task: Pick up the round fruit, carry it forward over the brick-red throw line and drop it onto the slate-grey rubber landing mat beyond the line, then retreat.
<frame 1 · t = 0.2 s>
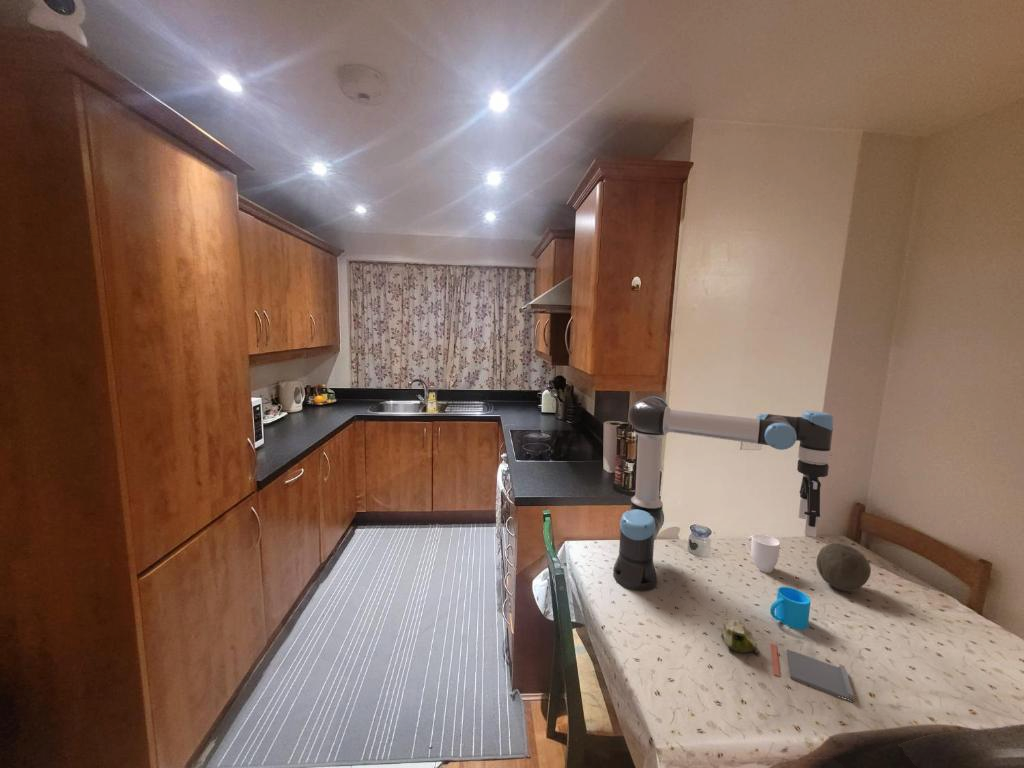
hand: (806, 526, 119), 28 cm above the table, fingers open, 13 cm apart
mug: (786, 621, 116), on the table
dark grey round stone: (840, 587, 133), on the table
landing mat: (817, 675, 96), on the table
fruit: (736, 646, 106), on the table
mug 2: (759, 567, 145), on the table
throw line: (775, 659, 101), on the table
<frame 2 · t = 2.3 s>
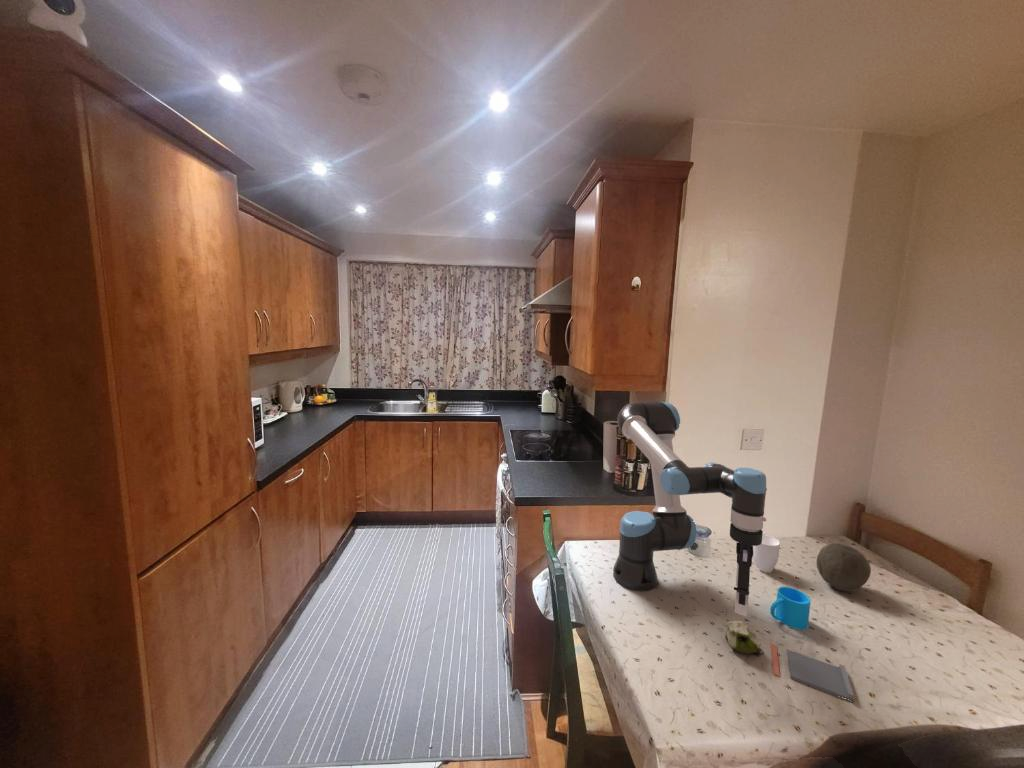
hand: (740, 599, 104), 14 cm above the table, fingers open, 13 cm apart
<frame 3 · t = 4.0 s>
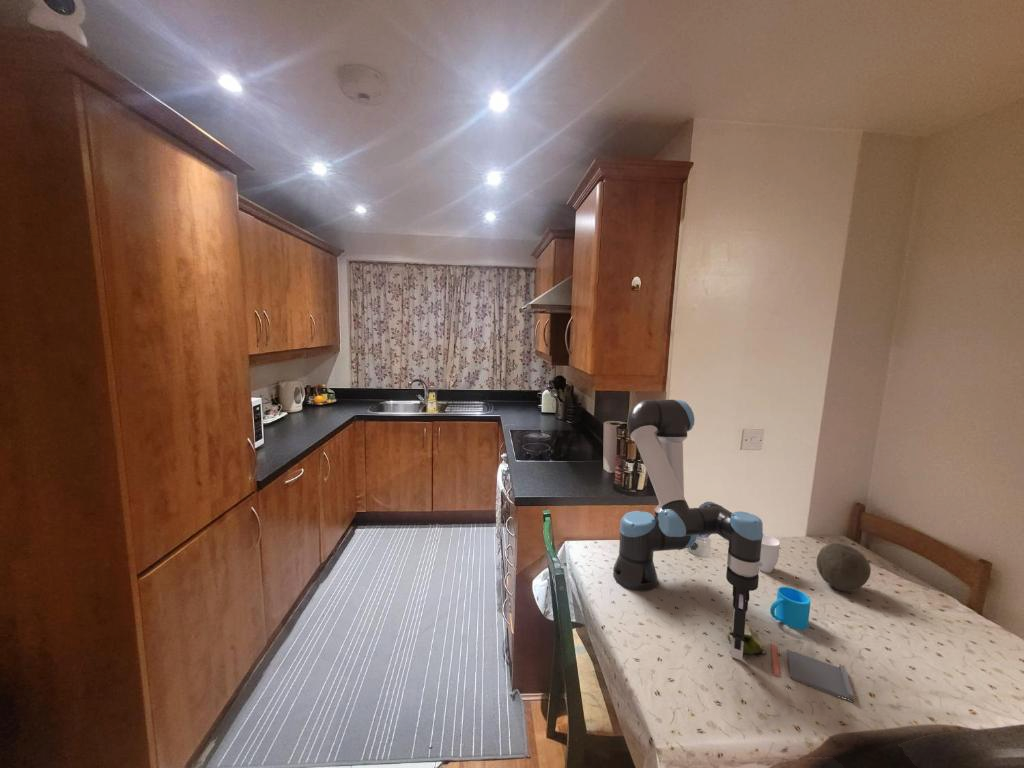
hand: (736, 644, 106), 0 cm above the table, fingers closed on fruit, 10 cm apart
fruit: (743, 648, 105), on the table, touching gripper
everything else where it was.
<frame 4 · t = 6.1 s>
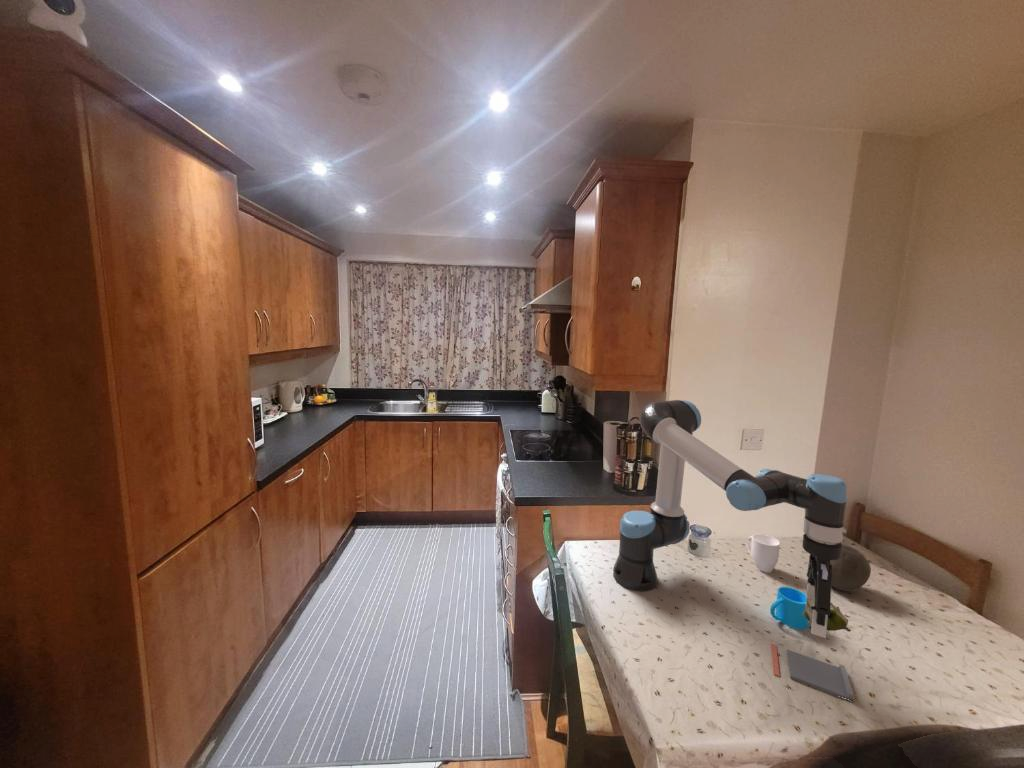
hand: (815, 621, 96), 14 cm above the table, fingers closed on fruit, 10 cm apart
fruit: (823, 625, 95), point 14 cm above the table, touching gripper
everything else where it was.
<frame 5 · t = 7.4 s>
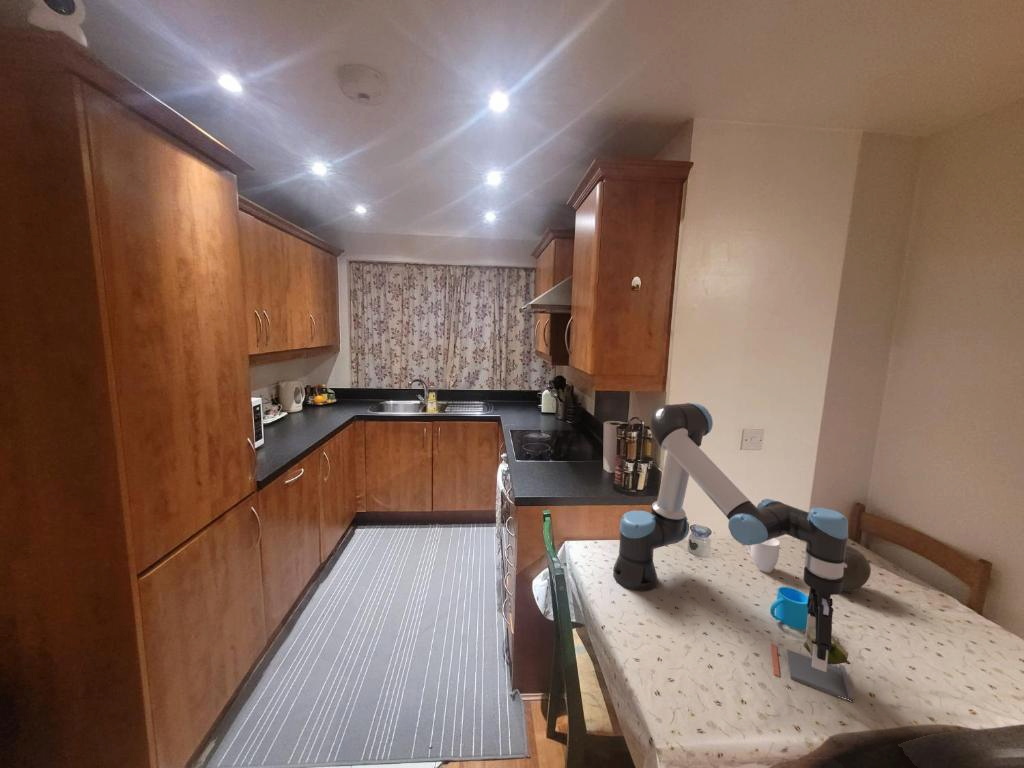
hand: (815, 653, 96), 6 cm above the table, fingers closed on fruit, 10 cm apart
fruit: (823, 657, 96), point 5 cm above the table, touching gripper
everything else where it was.
when the fingers open (3 cm above the table, at t = 8.4 s): fruit drops 2 cm, resting on landing mat.
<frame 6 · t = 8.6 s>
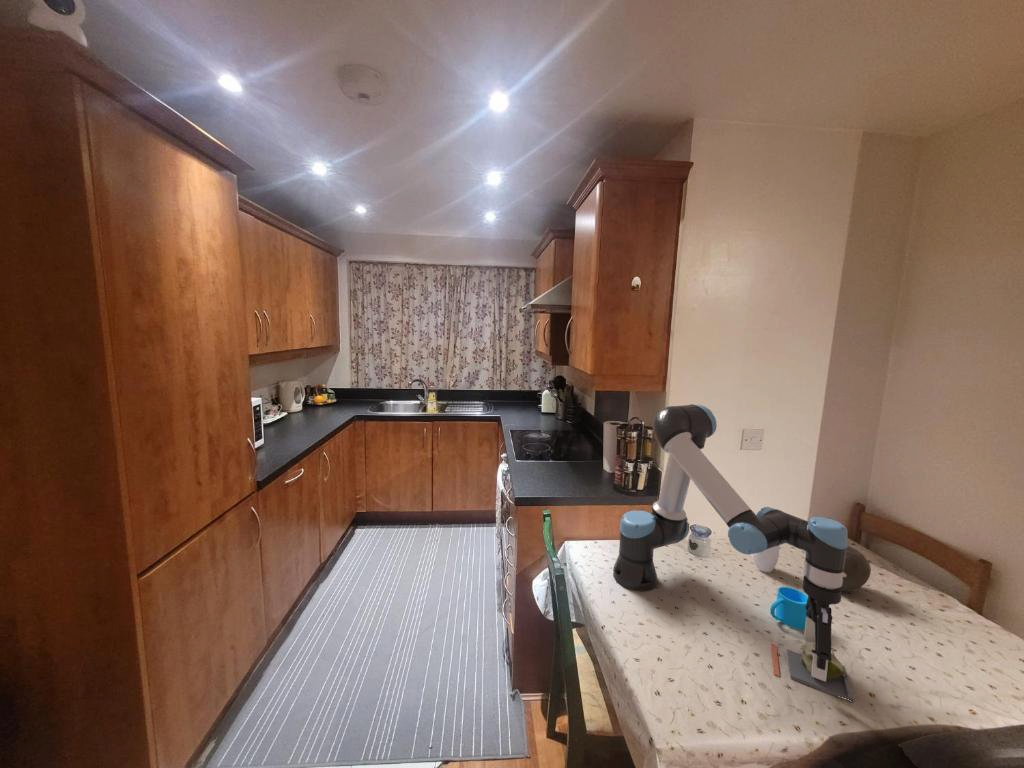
hand: (814, 658, 97), 4 cm above the table, fingers open, 13 cm apart
fruit: (821, 672, 96), point 1 cm above the table, touching landing mat
everything else where it was.
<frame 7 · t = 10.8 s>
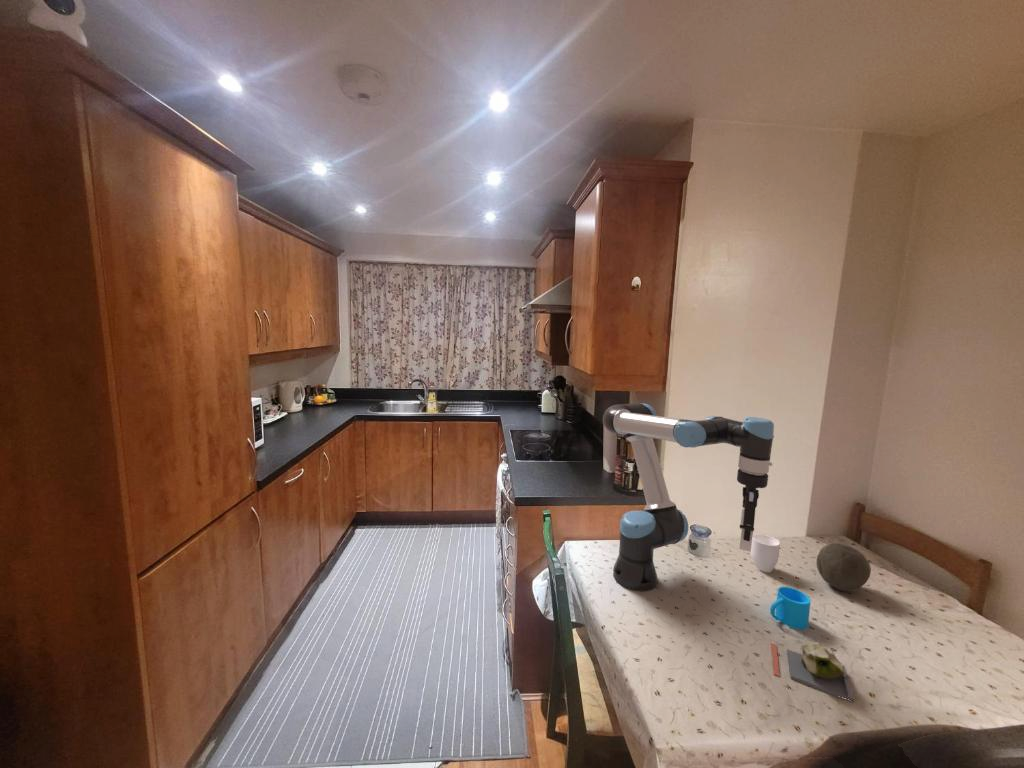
hand: (744, 539, 112), 27 cm above the table, fingers open, 13 cm apart
nothing on the table moved.
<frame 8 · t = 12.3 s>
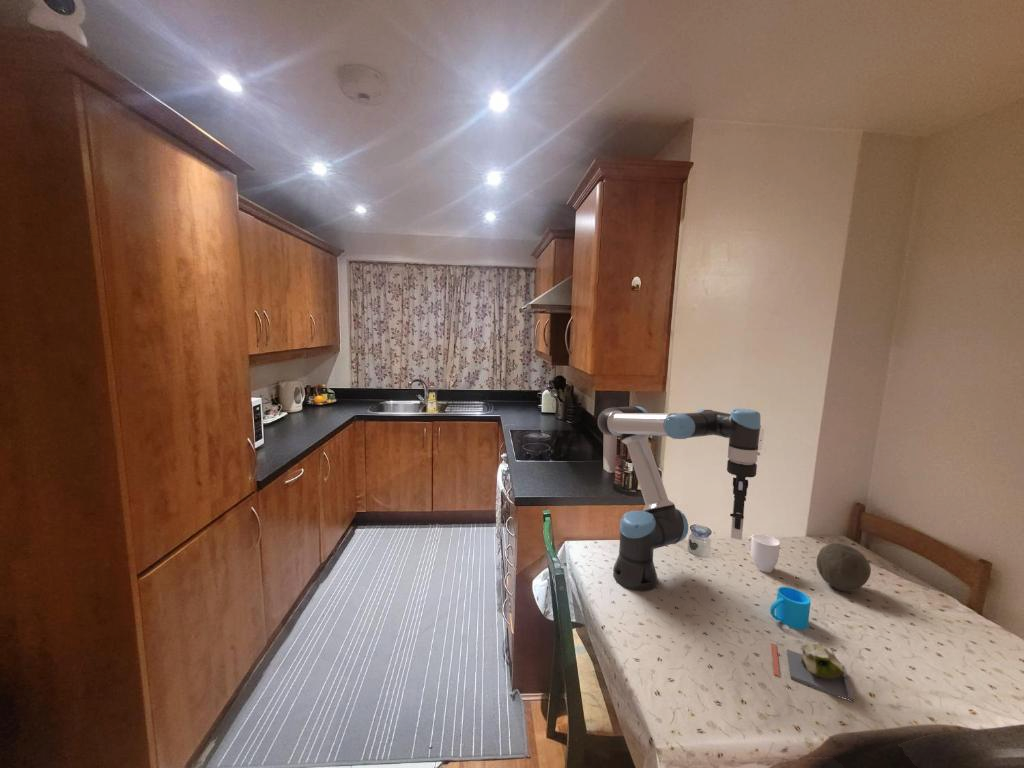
hand: (736, 529, 114), 29 cm above the table, fingers open, 13 cm apart
nothing on the table moved.
at the end: fruit inside the target area (0.9 cm from its centre), point 1.1 cm above the table; the gripper is holding nothing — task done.
